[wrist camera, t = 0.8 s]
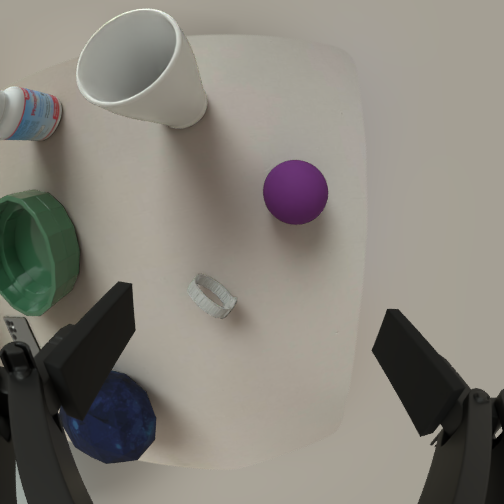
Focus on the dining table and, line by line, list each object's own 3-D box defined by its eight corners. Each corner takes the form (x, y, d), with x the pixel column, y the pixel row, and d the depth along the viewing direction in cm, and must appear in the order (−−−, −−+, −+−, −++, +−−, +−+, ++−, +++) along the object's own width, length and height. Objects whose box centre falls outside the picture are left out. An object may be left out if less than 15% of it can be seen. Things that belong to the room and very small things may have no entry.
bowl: (11, 183, 26) (-17, 188, 20) (86, 200, 27) (57, 209, 22) (12, 278, 30) (-11, 293, 25) (82, 310, 32) (60, 332, 26)
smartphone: (38, 385, 37) (2, 318, 32) (39, 384, 37) (3, 316, 32) (62, 391, 37) (23, 319, 32) (63, 389, 37) (25, 317, 32)
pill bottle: (70, 113, 24) (8, 101, 13) (43, 150, 25) (-19, 152, 14) (52, 87, 23) (-6, 72, 12) (26, 123, 24) (-32, 119, 13)
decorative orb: (72, 339, 27) (31, 435, 18) (179, 396, 29) (141, 494, 20) (89, 355, 38) (58, 426, 29) (167, 396, 40) (138, 467, 31)
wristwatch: (224, 306, 31) (220, 329, 27) (189, 281, 30) (179, 301, 26) (239, 289, 31) (238, 310, 26) (204, 262, 30) (195, 280, 25)
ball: (270, 153, 27) (276, 149, 21) (325, 171, 27) (344, 172, 21) (254, 209, 28) (256, 220, 22) (309, 224, 29) (324, 239, 23)
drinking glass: (227, 89, 24) (206, 18, 10) (196, 146, 26) (142, 124, 12) (171, 69, 23) (112, 2, 9) (142, 123, 25) (57, 94, 11)
